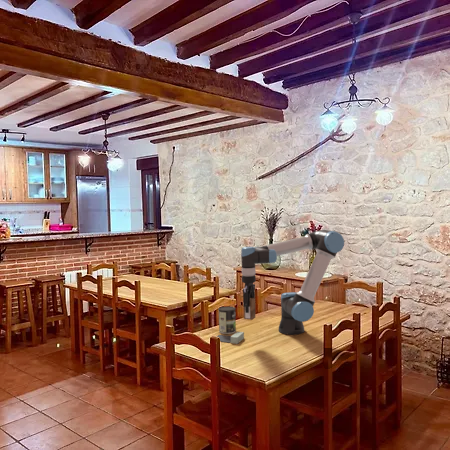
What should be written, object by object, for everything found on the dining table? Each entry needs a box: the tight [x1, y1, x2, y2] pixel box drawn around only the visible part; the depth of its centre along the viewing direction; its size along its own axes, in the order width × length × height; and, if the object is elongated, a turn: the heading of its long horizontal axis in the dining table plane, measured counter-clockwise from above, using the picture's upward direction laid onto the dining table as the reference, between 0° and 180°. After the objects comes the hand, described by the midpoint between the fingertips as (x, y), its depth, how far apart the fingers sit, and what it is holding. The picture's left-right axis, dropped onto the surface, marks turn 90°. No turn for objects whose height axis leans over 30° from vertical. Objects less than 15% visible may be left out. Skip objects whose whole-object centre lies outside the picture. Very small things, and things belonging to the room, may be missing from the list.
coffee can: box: [218, 305, 237, 335], centre depth 261 cm, size 10×10×14 cm
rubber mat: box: [216, 334, 232, 344], centre depth 247 cm, size 11×10×1 cm
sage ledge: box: [230, 331, 245, 345], centre depth 244 cm, size 4×10×4 cm, turn 157°
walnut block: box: [243, 297, 256, 321], centre depth 239 cm, size 5×5×11 cm
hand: (249, 316), depth 239 cm, fingers closed on walnut block, 5 cm apart
